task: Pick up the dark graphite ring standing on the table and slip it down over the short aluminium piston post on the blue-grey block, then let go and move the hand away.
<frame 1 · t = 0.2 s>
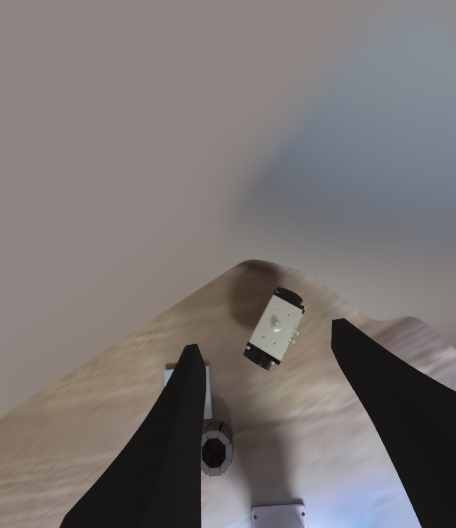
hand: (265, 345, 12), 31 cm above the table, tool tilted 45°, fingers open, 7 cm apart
piston block: (188, 392, 39), on the table
pneumatic valve: (270, 330, 41), on the table
ring: (217, 440, 36), on the table
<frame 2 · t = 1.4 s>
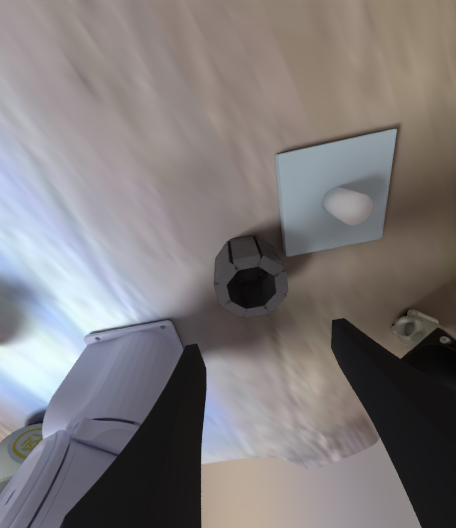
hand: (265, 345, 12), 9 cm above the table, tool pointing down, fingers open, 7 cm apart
piston block: (329, 198, 18), on the table
pneumatic valve: (406, 324, 25), on the table
ring: (245, 264, 20), on the table
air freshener: (58, 431, 32), on the table
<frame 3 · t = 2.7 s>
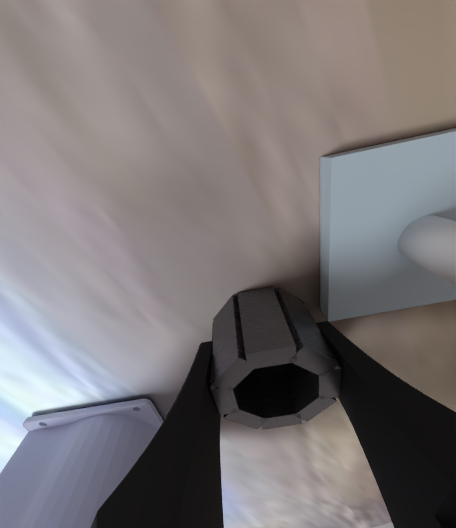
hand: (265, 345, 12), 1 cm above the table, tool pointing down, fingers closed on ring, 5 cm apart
piston block: (404, 230, 10), on the table
ring: (260, 326, 13), on the table, touching gripper
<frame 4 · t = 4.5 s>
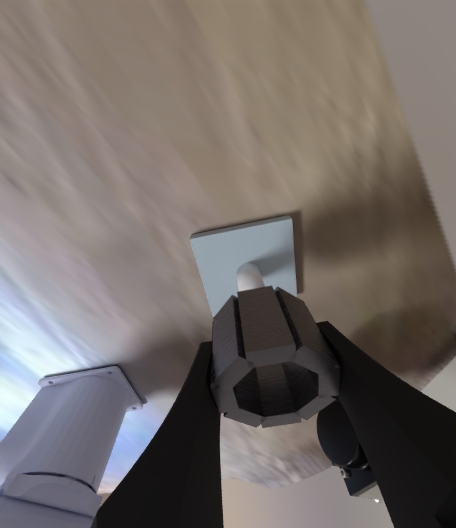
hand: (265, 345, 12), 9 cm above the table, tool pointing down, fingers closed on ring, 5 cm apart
piston block: (246, 267, 19), on the table
pneumatic valve: (339, 366, 26), on the table
ring: (260, 325, 13), point 7 cm above the table, touching gripper
when the fingers open (4 cm above the table, at t = 6.5 s): ring drops 1 cm, resting on piston block.
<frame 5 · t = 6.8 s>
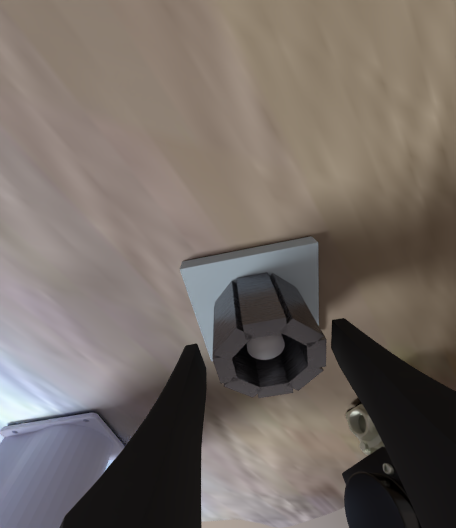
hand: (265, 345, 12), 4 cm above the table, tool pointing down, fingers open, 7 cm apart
piston block: (254, 301, 15), on the table
pneumatic valve: (363, 408, 22), on the table
ring: (257, 309, 14), point 1 cm above the table, touching piston block
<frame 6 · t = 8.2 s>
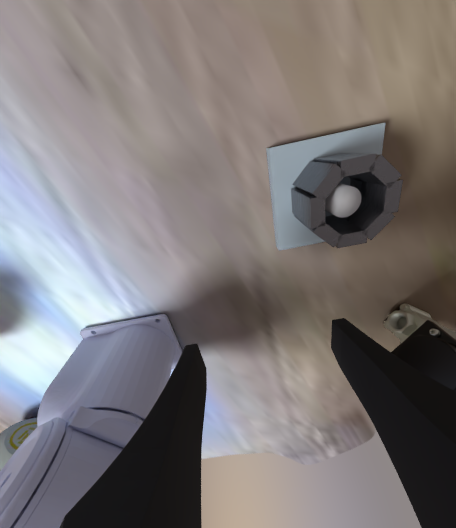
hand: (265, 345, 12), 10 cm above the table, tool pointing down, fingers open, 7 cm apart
piston block: (320, 192, 18), on the table
pneumatic valve: (399, 318, 25), on the table
ring: (326, 193, 17), point 1 cm above the table, touching piston block
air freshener: (55, 426, 32), on the table
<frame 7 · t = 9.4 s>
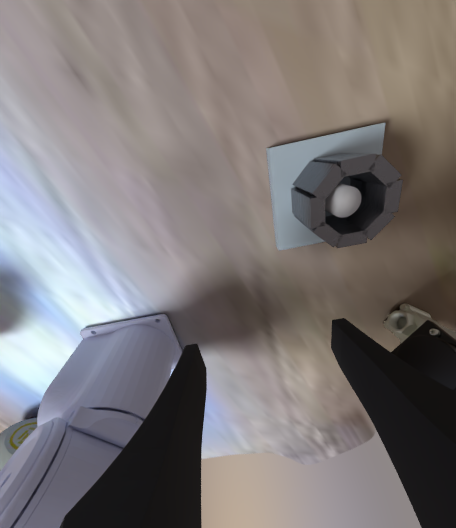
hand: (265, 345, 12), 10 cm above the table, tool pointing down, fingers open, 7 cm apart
piston block: (320, 192, 18), on the table
pneumatic valve: (399, 318, 25), on the table
ring: (326, 193, 17), point 1 cm above the table, touching piston block
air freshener: (55, 426, 32), on the table
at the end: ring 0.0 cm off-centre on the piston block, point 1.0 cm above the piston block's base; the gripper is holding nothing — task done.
